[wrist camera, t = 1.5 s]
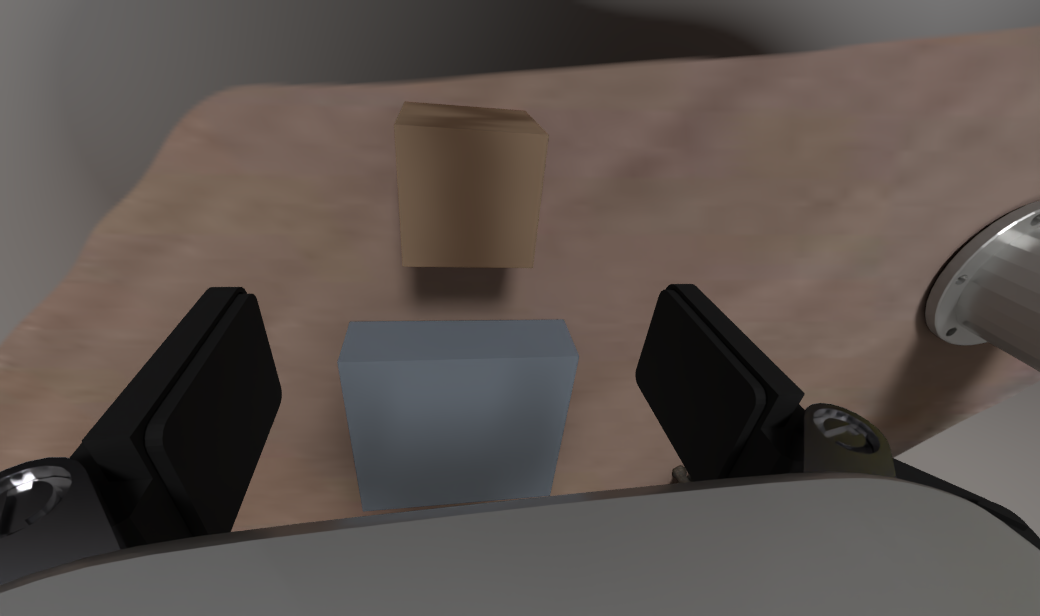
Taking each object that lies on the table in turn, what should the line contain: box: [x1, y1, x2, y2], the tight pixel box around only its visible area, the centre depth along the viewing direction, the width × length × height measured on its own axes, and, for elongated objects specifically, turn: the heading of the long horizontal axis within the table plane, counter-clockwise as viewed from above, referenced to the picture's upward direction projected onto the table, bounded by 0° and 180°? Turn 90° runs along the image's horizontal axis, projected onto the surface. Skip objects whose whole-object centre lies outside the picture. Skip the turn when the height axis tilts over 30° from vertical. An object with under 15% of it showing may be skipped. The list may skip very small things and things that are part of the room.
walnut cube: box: [394, 102, 549, 268], centre depth 21 cm, size 6×6×6 cm
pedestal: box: [337, 320, 579, 511], centre depth 31 cm, size 14×14×4 cm
